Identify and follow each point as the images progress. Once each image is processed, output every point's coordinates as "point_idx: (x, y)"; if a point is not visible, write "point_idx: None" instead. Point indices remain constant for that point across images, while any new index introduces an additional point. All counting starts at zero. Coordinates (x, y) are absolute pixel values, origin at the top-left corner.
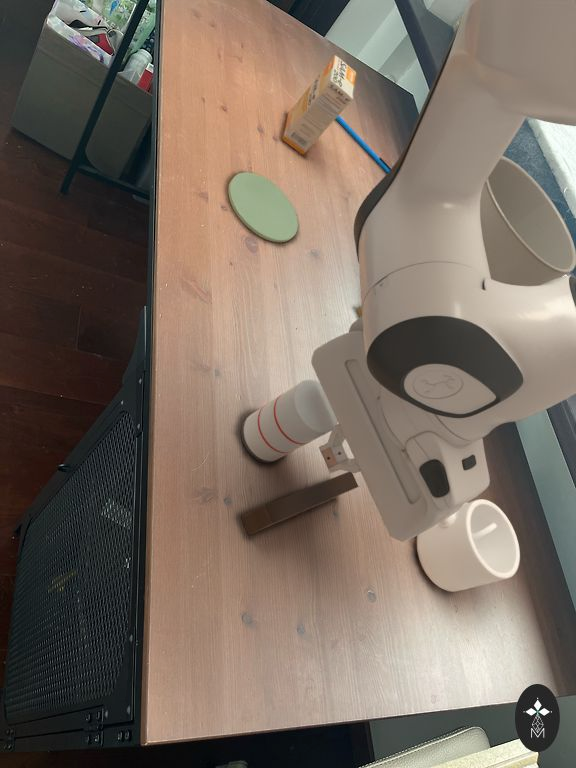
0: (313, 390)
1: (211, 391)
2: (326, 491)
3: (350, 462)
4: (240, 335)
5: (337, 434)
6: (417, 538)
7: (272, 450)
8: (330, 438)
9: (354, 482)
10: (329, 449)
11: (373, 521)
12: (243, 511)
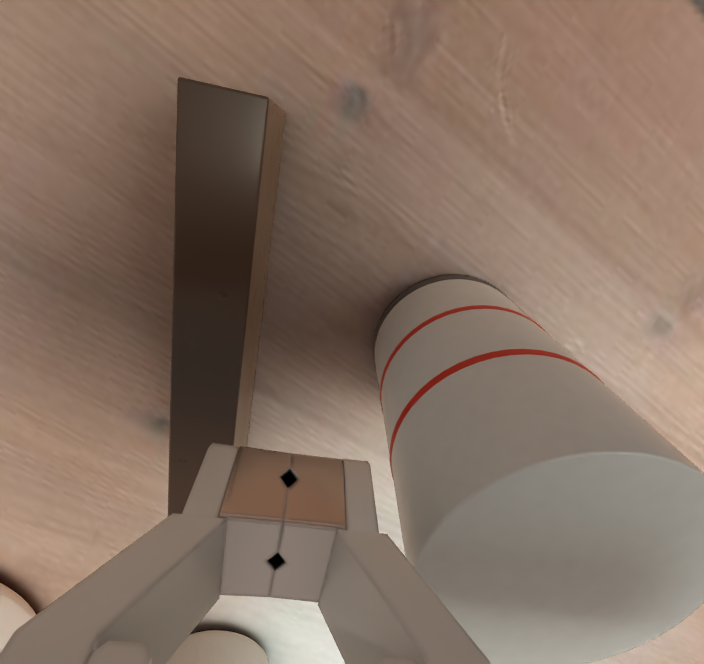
0: (642, 600)
1: (638, 276)
2: (199, 415)
3: (129, 646)
4: (680, 446)
5: (412, 652)
6: (2, 592)
7: (422, 319)
8: (399, 566)
9: None
10: (333, 514)
11: (100, 509)
12: (298, 137)
